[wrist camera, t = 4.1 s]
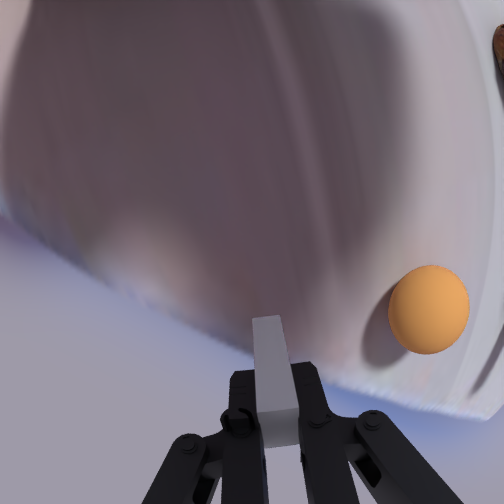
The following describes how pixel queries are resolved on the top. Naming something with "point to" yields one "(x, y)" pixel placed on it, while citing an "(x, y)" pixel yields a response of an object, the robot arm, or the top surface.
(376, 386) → the top surface
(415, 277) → the ball
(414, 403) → the top surface
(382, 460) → the robot arm
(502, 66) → the bread roll
